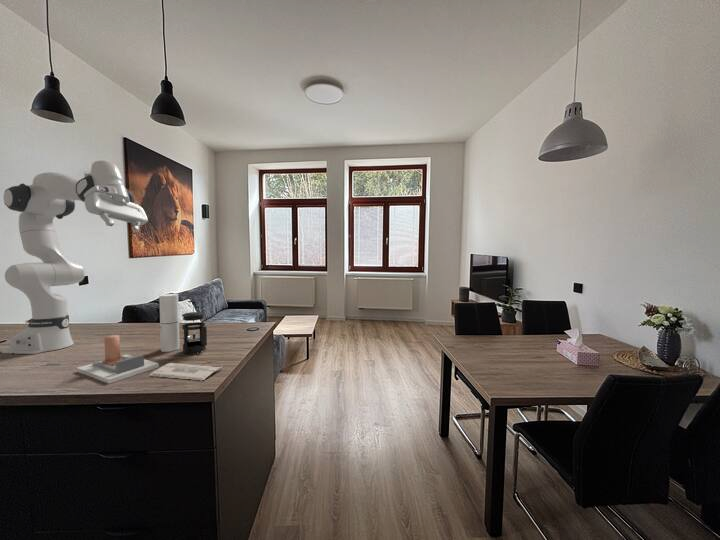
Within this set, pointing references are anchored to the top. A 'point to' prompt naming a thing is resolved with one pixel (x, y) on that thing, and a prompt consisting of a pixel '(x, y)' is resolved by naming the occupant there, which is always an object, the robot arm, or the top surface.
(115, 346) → the knob plunger
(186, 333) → the french press
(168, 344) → the cylindrical container
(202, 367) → the newspaper
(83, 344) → the top surface
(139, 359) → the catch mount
